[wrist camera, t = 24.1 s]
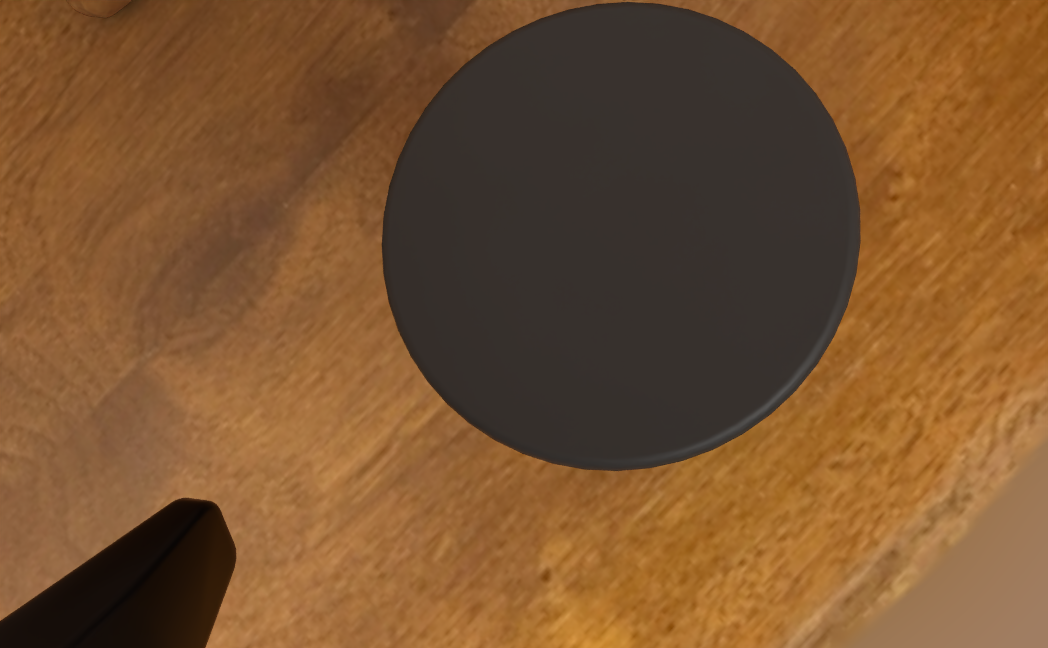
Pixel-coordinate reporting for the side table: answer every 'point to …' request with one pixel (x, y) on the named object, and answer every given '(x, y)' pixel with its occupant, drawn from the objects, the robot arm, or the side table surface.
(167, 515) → the robot arm
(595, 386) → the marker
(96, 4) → the stuffed squirrel
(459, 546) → the side table surface
